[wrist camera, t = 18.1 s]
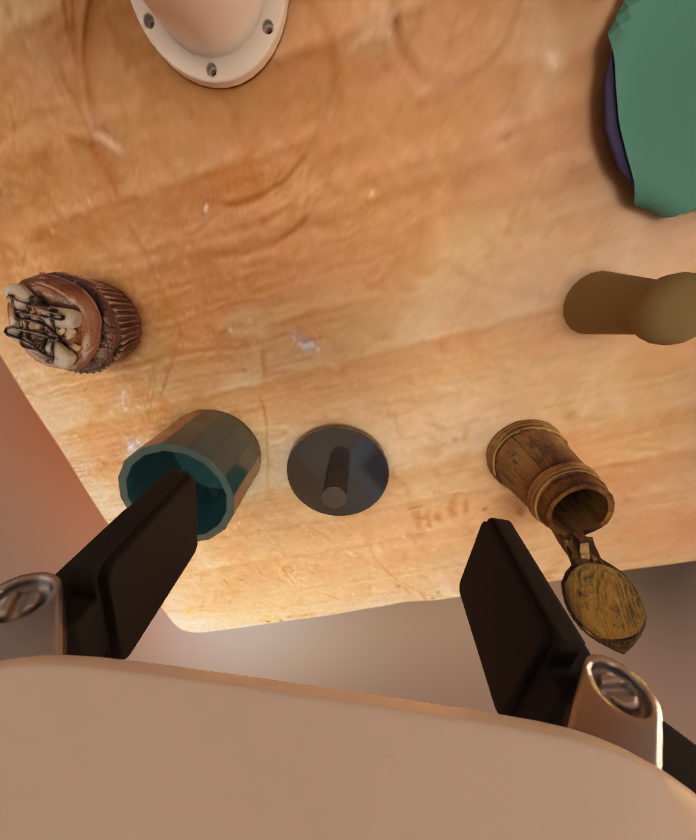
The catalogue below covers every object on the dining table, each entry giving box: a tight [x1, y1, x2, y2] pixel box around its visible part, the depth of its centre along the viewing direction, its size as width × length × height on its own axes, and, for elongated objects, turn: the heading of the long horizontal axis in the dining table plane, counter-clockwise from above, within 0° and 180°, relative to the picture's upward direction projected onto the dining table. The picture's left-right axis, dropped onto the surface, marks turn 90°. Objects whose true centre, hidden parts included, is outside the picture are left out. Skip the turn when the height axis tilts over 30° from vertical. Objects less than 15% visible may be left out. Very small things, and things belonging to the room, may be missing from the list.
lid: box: [287, 426, 389, 516], centre depth 40 cm, size 13×13×6 cm
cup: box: [118, 410, 261, 541], centre depth 38 cm, size 12×12×10 cm
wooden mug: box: [487, 420, 647, 654], centre depth 33 cm, size 9×14×18 cm, turn 11°
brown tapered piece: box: [564, 271, 696, 345], centre depth 29 cm, size 6×6×11 cm
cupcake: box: [2, 272, 141, 374], centre depth 32 cm, size 10×10×10 cm
